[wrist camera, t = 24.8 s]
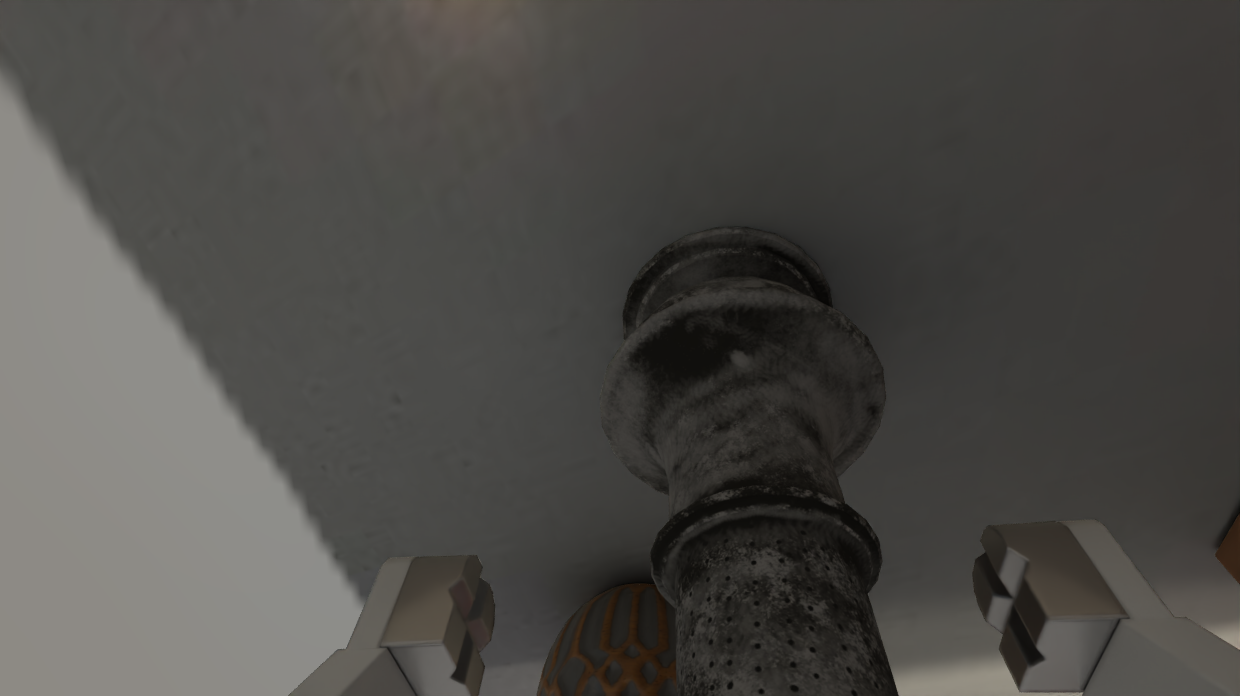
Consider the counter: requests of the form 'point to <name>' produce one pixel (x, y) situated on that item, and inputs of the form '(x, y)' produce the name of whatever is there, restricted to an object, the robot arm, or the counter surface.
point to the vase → (615, 647)
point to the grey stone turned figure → (752, 465)
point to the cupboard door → (1231, 550)
